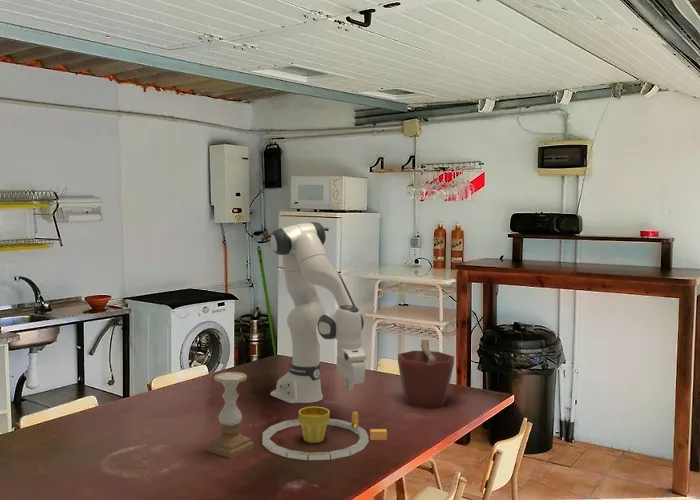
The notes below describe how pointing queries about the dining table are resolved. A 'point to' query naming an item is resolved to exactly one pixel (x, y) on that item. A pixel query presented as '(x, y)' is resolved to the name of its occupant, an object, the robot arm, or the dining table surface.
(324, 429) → the plant pot
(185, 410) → the dining table surface
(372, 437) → the pointer block
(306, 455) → the ring
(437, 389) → the bucket
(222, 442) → the candle holder
